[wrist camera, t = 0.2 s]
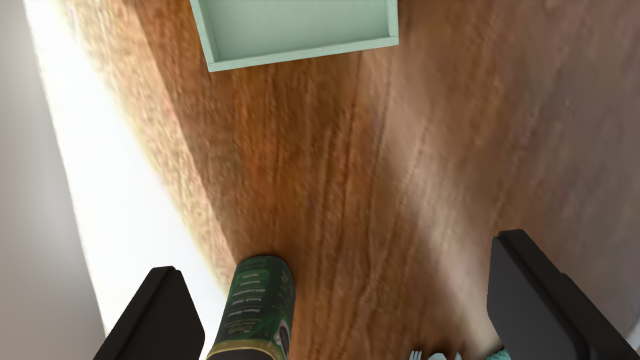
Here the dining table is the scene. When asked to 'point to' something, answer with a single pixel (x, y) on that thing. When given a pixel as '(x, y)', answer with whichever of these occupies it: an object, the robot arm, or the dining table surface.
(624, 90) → the dining table surface
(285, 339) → the coffee jar
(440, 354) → the cutlery set
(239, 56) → the tray
